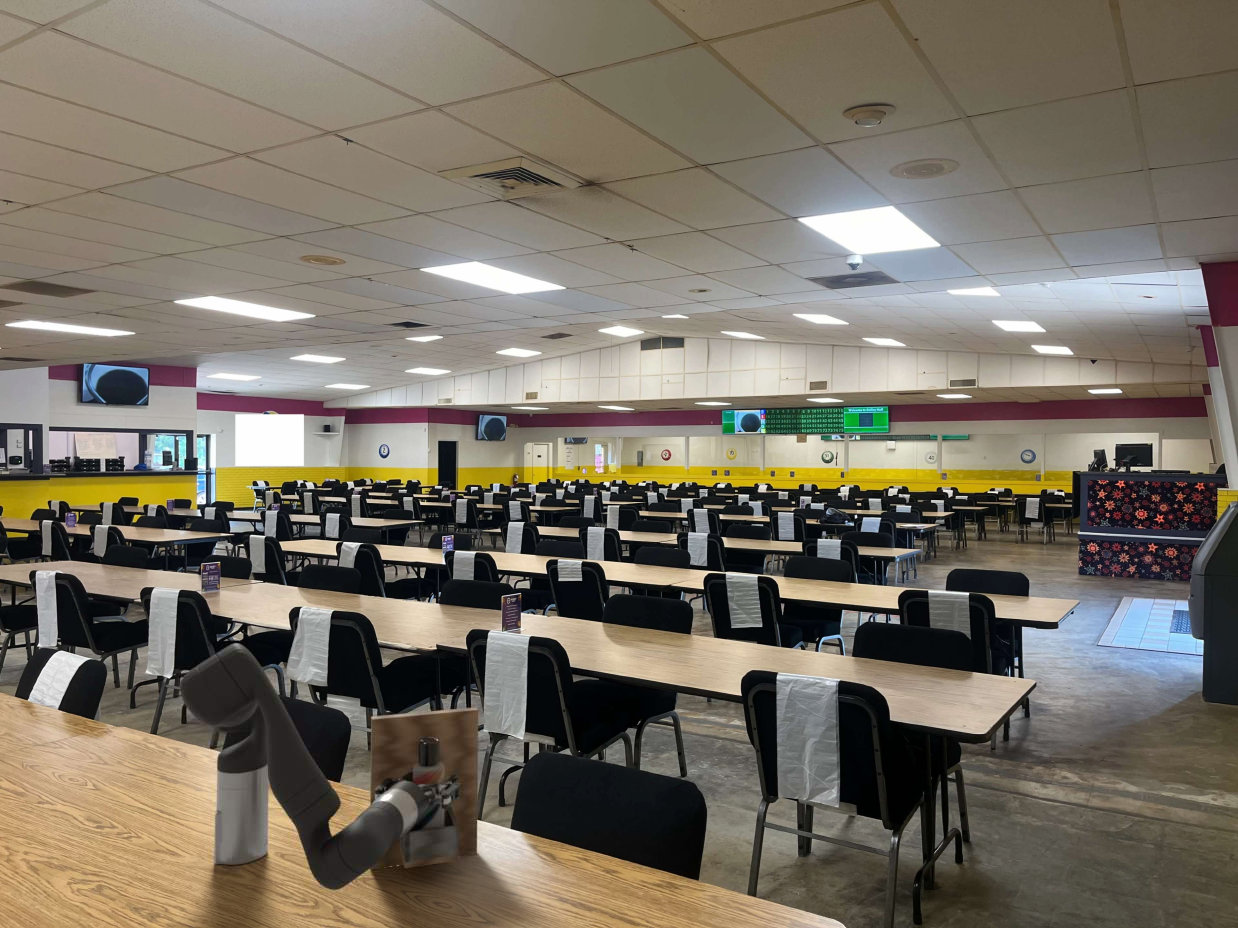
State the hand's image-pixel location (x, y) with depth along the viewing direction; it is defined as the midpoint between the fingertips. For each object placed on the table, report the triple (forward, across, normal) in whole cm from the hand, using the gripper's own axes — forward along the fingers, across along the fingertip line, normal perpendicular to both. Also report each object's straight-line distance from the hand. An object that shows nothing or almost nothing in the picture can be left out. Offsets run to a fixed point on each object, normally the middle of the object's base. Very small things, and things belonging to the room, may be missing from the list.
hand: (433, 778), depth 157 cm
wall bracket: (-1, +1, +17) cm, 17 cm away
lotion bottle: (-2, 0, +12) cm, 12 cm away
